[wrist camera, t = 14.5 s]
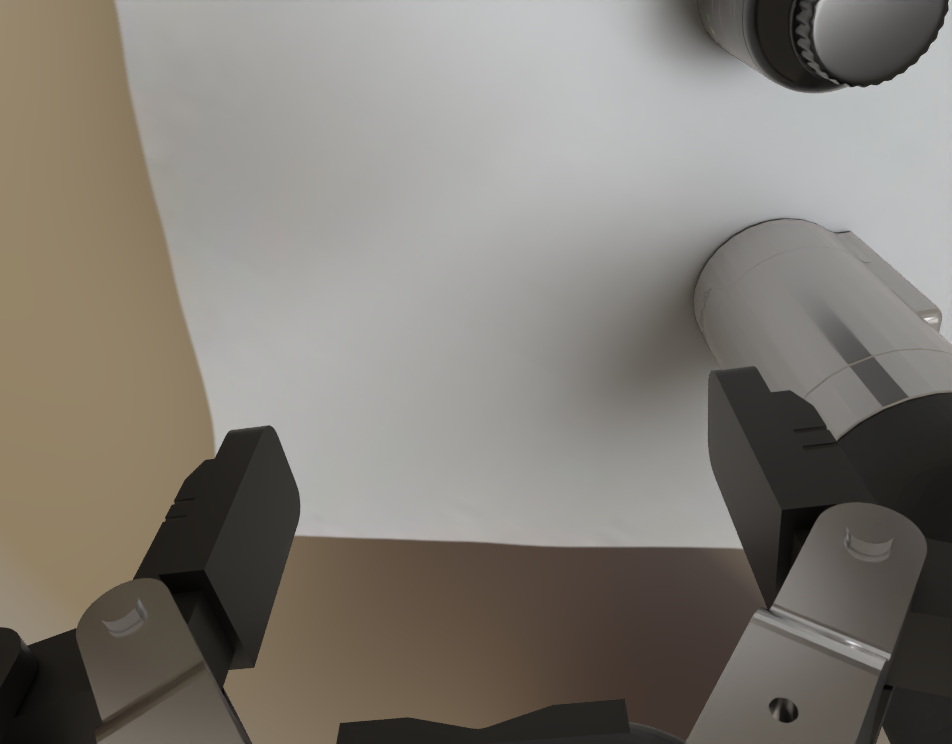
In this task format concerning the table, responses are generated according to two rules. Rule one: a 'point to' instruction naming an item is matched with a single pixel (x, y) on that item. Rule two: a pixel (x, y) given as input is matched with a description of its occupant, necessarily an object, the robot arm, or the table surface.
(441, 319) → the table surface
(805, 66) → the supplement bottle
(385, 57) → the table surface
